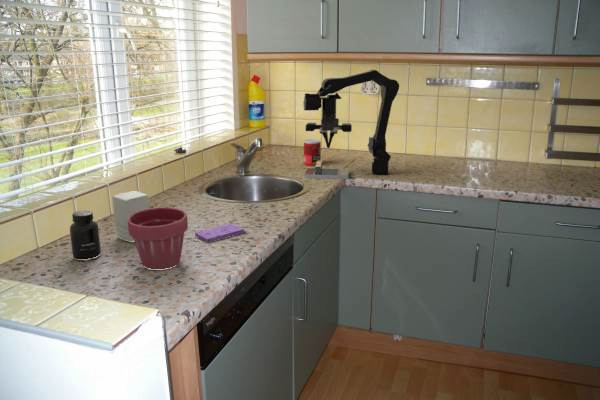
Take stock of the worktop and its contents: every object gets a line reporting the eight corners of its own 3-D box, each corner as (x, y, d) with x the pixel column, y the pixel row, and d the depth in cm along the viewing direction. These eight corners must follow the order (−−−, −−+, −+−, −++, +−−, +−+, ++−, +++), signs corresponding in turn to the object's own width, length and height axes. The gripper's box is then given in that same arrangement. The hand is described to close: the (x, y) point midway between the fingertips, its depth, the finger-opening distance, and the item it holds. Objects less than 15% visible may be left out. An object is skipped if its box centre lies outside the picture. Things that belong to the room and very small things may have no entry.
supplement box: (153, 236, 146) (149, 194, 143) (129, 243, 141) (125, 200, 137) (139, 230, 151) (135, 189, 147) (116, 237, 146) (111, 195, 142)
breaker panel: (348, 172, 219) (349, 160, 217) (347, 179, 208) (348, 166, 207) (307, 171, 221) (307, 159, 220) (304, 177, 211) (304, 165, 209)
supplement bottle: (88, 263, 128) (82, 218, 125) (67, 259, 131) (60, 215, 127) (107, 253, 134) (102, 210, 131) (87, 250, 137) (81, 207, 133)
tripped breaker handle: (321, 170, 216) (321, 161, 215) (321, 171, 213) (321, 163, 212) (316, 170, 216) (316, 161, 215) (316, 171, 214) (316, 163, 213)
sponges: (195, 238, 147) (194, 231, 146) (232, 228, 154) (231, 222, 154) (207, 244, 141) (206, 238, 141) (244, 234, 149) (244, 228, 149)
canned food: (314, 166, 230) (314, 142, 226) (300, 164, 234) (300, 141, 231) (323, 163, 235) (324, 140, 232) (310, 161, 240) (310, 138, 237)
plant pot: (176, 278, 120) (172, 227, 116) (121, 273, 122) (115, 223, 119) (198, 254, 134) (195, 208, 130) (148, 251, 136) (144, 205, 132)
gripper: (304, 112, 200) (303, 151, 205) (351, 113, 198) (350, 152, 203) (307, 108, 211) (307, 146, 215) (352, 109, 209) (351, 147, 213)
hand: (328, 147), depth 211 cm, fingers closed
